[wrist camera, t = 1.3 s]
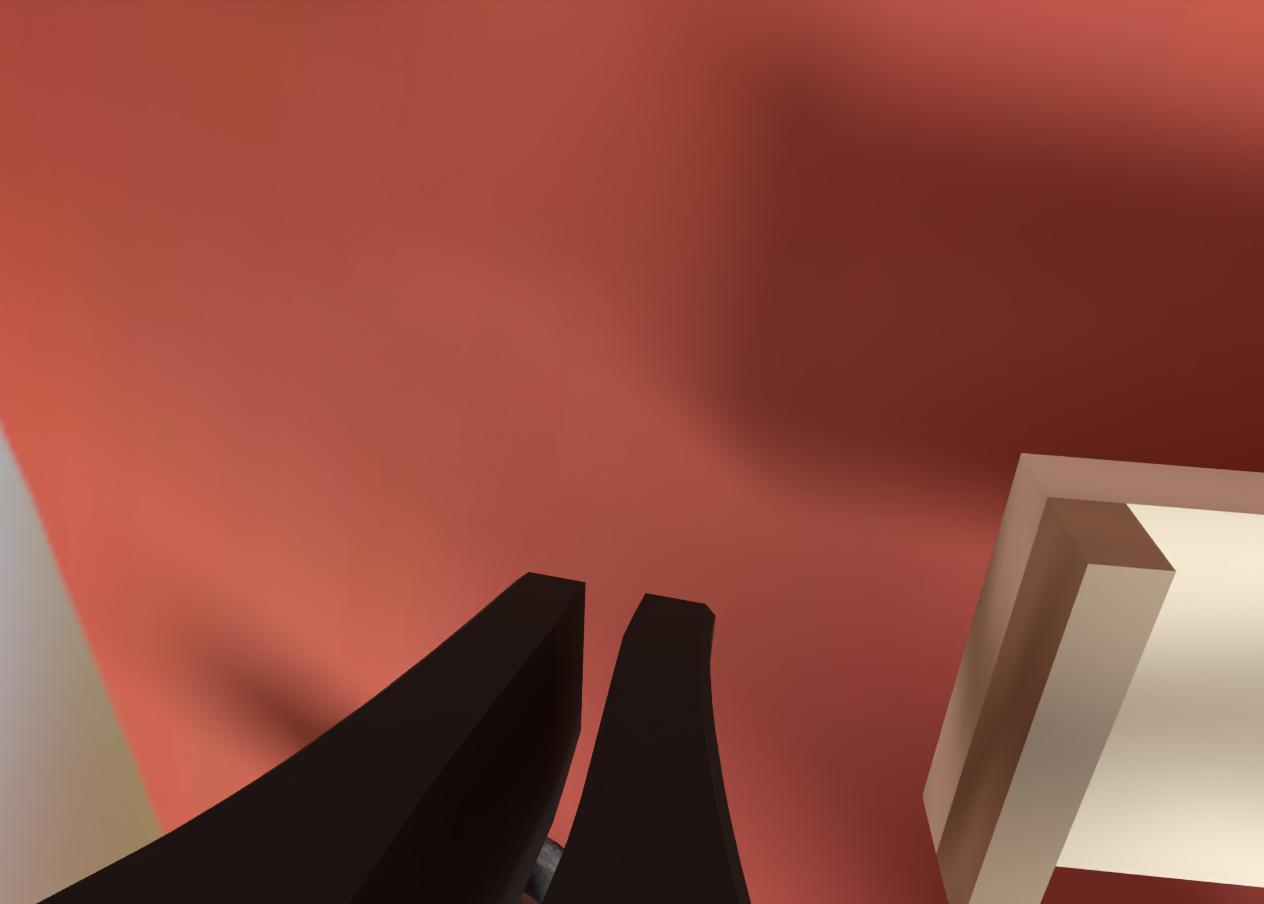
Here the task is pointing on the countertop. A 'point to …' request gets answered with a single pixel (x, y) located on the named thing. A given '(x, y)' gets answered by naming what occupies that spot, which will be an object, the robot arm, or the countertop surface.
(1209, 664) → the beam
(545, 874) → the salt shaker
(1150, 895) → the countertop surface
